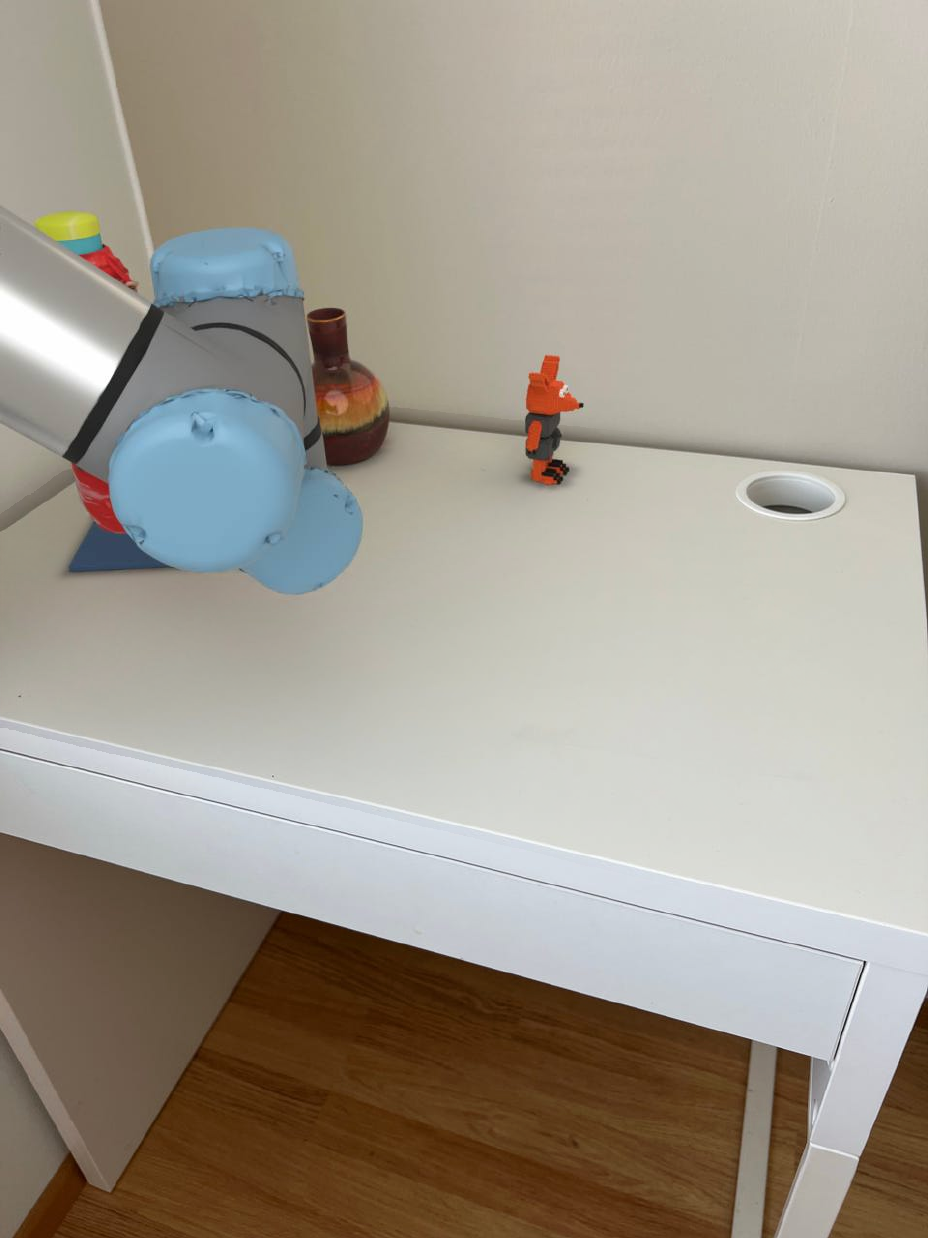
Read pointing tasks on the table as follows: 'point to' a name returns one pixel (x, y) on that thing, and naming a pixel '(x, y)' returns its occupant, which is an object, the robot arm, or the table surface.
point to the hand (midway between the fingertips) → (90, 361)
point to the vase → (345, 393)
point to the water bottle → (86, 242)
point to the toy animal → (546, 421)
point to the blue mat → (110, 552)
